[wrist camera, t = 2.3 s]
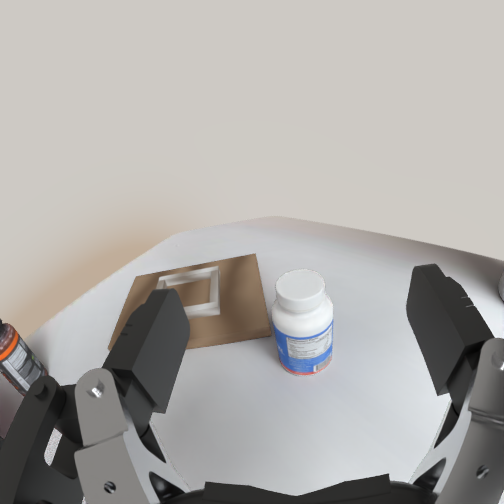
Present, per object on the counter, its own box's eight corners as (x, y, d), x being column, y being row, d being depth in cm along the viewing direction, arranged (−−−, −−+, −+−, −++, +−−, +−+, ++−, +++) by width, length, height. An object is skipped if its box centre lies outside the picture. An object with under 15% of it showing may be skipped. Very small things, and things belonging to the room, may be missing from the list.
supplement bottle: (16, 388, 26) (-31, 329, 20) (38, 362, 30) (-4, 303, 25) (31, 406, 23) (-24, 344, 18) (55, 377, 28) (6, 313, 22)
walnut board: (257, 261, 45) (254, 246, 43) (271, 335, 31) (268, 318, 29) (139, 283, 45) (133, 270, 44) (113, 356, 31) (103, 341, 30)
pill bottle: (281, 338, 30) (270, 264, 25) (330, 336, 29) (330, 260, 24) (277, 379, 26) (262, 306, 21) (332, 377, 24) (336, 302, 20)
